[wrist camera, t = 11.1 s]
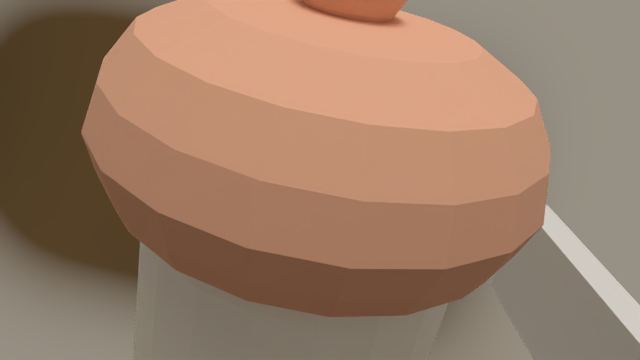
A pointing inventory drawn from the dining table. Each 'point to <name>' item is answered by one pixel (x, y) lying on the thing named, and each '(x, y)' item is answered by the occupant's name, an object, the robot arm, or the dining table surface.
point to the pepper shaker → (311, 175)
